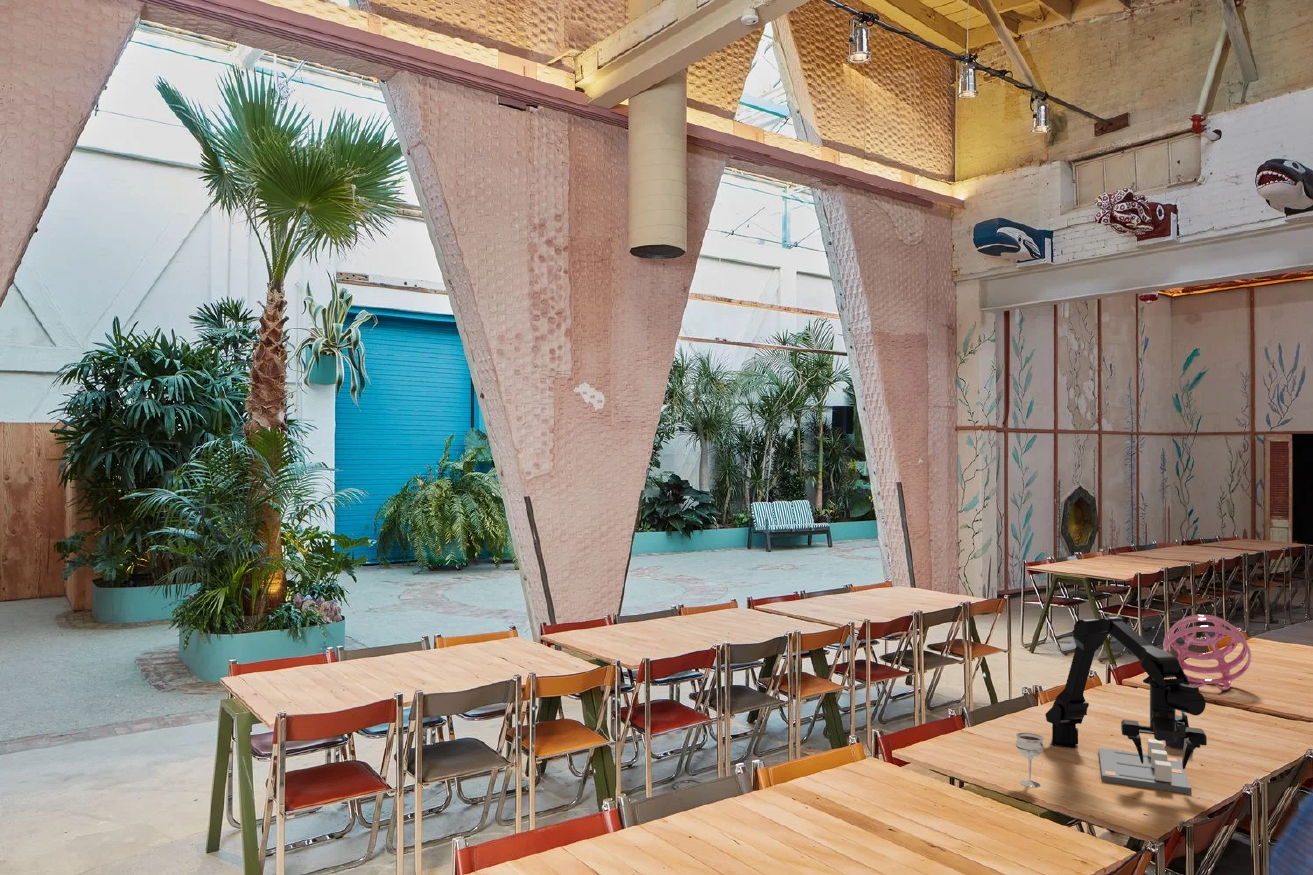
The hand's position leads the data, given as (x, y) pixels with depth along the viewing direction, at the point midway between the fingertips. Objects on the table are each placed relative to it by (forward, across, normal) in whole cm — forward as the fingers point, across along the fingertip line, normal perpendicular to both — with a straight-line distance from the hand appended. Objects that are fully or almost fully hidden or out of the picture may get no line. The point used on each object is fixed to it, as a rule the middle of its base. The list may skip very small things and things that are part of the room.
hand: (1162, 765), depth 227 cm
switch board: (+5, -4, +10) cm, 12 cm away
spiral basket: (+6, +26, +128) cm, 131 cm away
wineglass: (+6, -31, -13) cm, 34 cm away
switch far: (+3, 0, +20) cm, 20 cm away
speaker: (+6, +7, +39) cm, 40 cm away
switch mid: (+3, 0, +10) cm, 10 cm away
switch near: (+3, 0, 0) cm, 3 cm away
